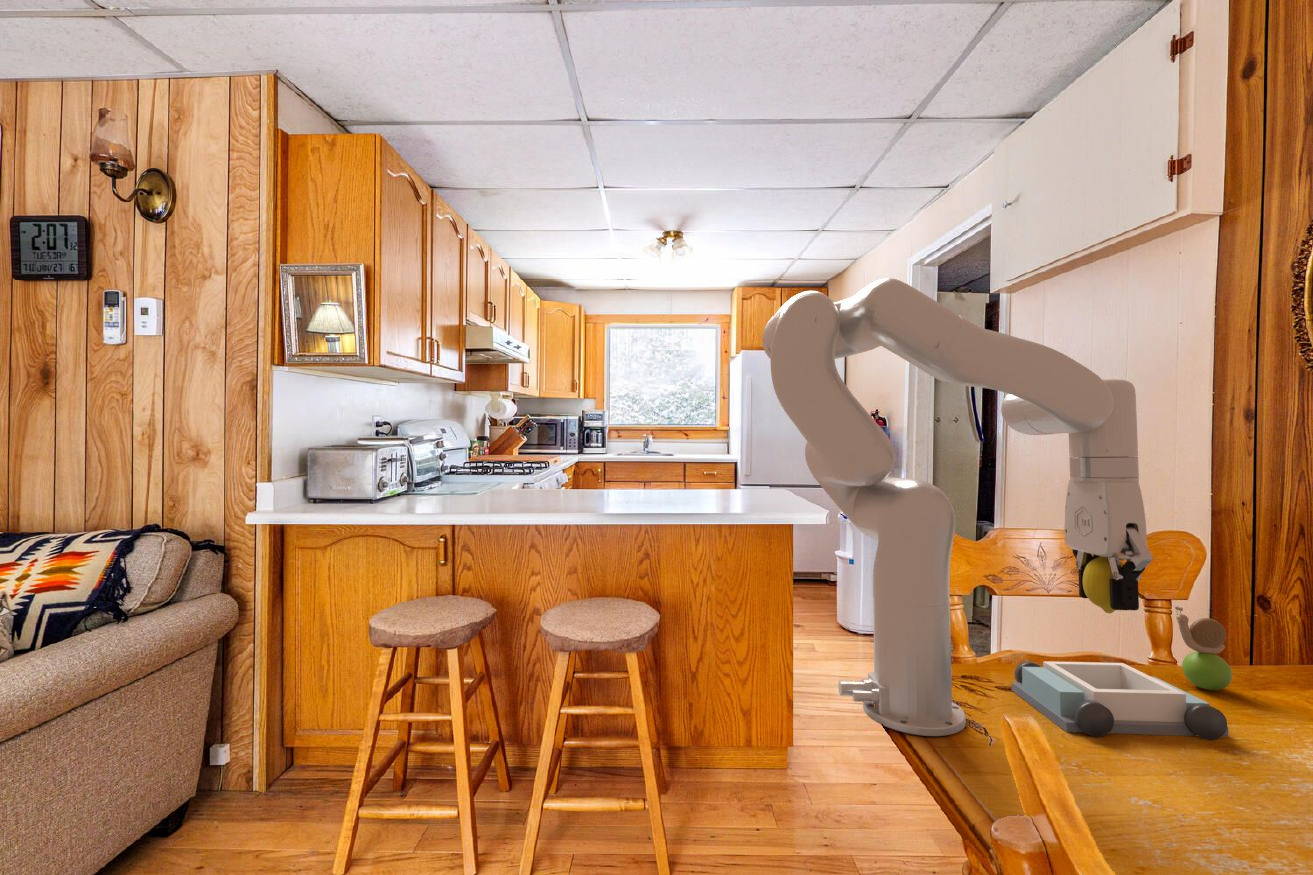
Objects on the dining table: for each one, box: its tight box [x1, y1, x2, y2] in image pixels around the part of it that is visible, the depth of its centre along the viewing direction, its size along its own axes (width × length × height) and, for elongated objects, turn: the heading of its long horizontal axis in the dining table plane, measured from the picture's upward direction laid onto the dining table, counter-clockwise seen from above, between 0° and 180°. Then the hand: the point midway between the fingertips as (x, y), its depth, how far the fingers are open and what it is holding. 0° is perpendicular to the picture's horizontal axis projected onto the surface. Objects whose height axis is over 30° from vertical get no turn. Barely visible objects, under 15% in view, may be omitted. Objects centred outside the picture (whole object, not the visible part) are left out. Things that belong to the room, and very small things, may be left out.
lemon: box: [1083, 556, 1125, 614], centre depth 80 cm, size 6×6×8 cm
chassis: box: [1011, 660, 1230, 741], centre depth 79 cm, size 19×15×5 cm
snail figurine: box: [1174, 605, 1233, 691], centre depth 87 cm, size 5×6×12 cm
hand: (1107, 602), depth 80 cm, fingers closed on lemon, 5 cm apart
